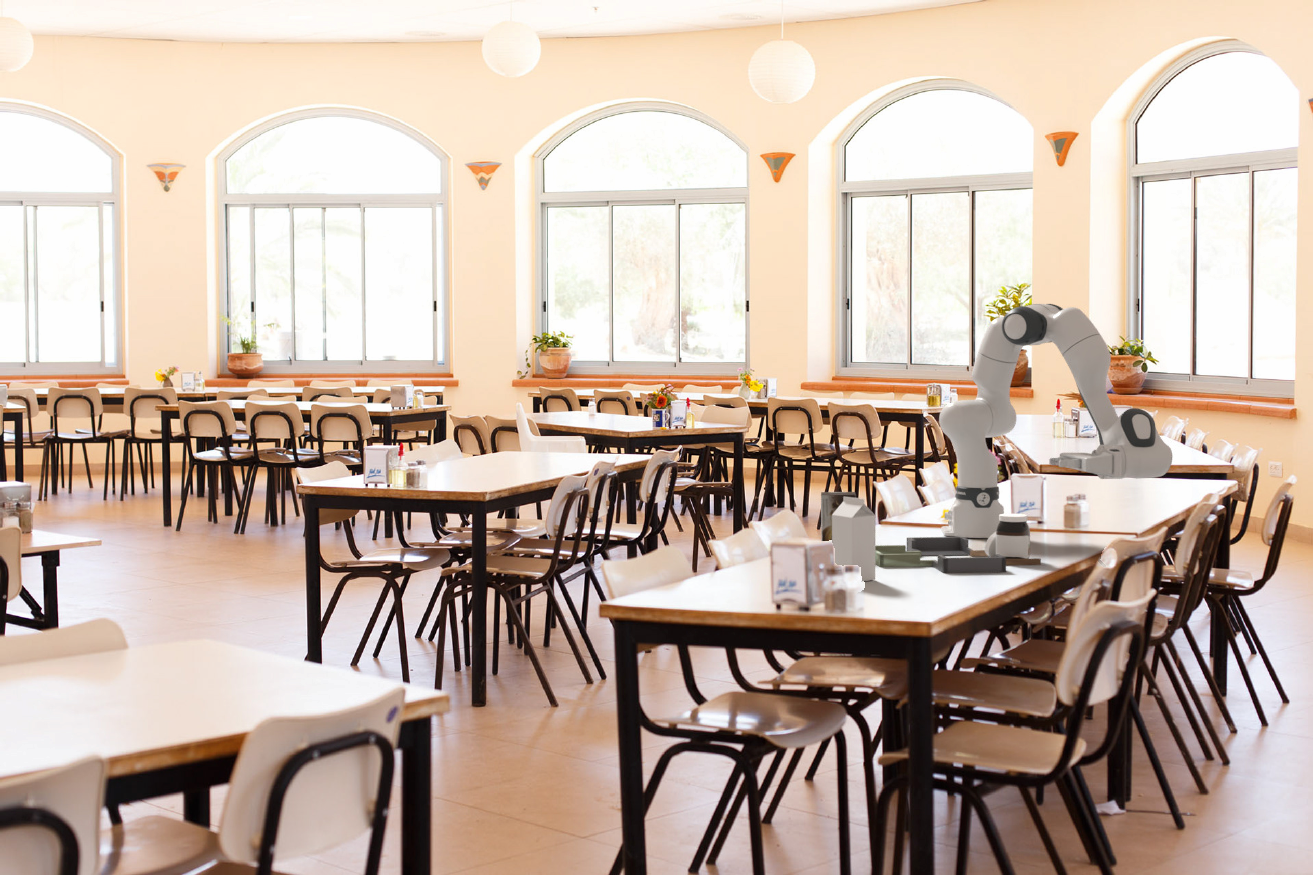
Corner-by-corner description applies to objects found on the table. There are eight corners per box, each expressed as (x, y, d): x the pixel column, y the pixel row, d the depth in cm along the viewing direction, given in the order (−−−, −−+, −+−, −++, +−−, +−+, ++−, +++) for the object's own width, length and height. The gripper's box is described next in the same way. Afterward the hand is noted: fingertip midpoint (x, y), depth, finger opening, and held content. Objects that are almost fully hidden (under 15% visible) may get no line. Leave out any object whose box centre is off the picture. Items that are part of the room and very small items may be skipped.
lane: (866, 557, 338) (866, 545, 338) (1019, 555, 340) (1019, 543, 340) (879, 566, 322) (879, 554, 322) (1040, 564, 324) (1040, 552, 324)
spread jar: (1023, 565, 324) (1023, 518, 323) (977, 562, 329) (978, 515, 329) (1035, 558, 334) (1035, 513, 334) (990, 555, 340) (990, 510, 339)
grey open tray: (906, 550, 349) (906, 537, 349) (962, 549, 350) (962, 536, 350) (916, 556, 339) (916, 542, 339) (973, 555, 340) (973, 542, 339)
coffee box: (855, 552, 347) (855, 491, 346) (856, 556, 340) (857, 493, 339) (820, 552, 348) (820, 491, 347) (821, 555, 341) (821, 493, 340)
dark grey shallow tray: (932, 566, 323) (932, 551, 323) (992, 565, 324) (992, 551, 323) (943, 572, 312) (943, 558, 312) (1005, 572, 313) (1006, 557, 313)
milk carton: (851, 583, 299) (852, 500, 298) (831, 579, 305) (831, 497, 304) (875, 580, 303) (875, 498, 302) (855, 576, 309) (855, 495, 308)
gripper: (1092, 446, 348) (1040, 447, 347) (1123, 452, 328) (1068, 452, 327) (1092, 470, 348) (1040, 471, 348) (1123, 477, 328) (1068, 478, 327)
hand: (1054, 462), depth 337 cm, fingers open, 5 cm apart
